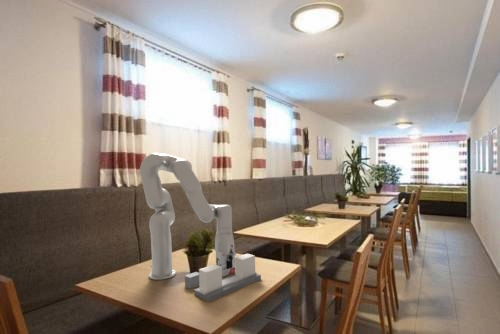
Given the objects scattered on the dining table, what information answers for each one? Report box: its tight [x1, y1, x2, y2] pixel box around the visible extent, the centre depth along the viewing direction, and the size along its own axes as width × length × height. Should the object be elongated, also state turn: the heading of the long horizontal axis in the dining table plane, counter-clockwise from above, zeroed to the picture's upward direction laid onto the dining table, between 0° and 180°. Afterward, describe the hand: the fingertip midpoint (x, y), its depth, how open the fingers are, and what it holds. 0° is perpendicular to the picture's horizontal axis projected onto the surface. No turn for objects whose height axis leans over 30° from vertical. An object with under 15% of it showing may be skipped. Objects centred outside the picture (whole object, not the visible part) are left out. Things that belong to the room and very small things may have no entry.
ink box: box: [215, 248, 236, 278], centre depth 147 cm, size 9×5×12 cm, turn 130°
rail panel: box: [193, 253, 262, 303], centre depth 131 cm, size 10×30×11 cm, turn 135°
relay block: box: [184, 271, 199, 290], centre depth 133 cm, size 4×6×5 cm, turn 135°
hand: (225, 266), depth 147 cm, fingers closed on ink box, 5 cm apart
